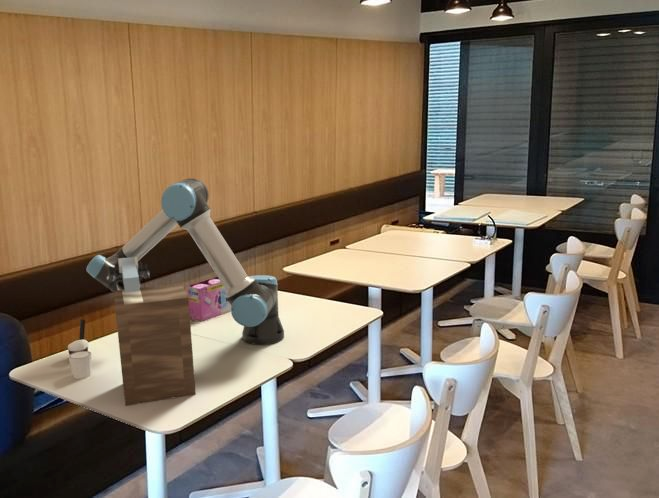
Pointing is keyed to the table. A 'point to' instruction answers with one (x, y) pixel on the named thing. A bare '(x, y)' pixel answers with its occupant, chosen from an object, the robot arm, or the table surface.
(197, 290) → the gum box
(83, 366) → the shot glass
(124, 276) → the rod
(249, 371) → the table surface
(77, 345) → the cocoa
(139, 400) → the shelf
